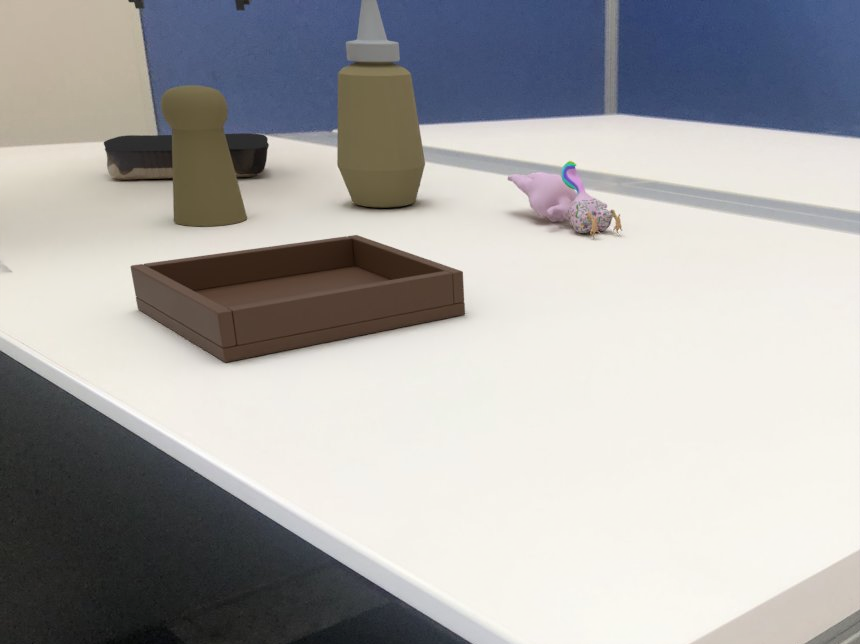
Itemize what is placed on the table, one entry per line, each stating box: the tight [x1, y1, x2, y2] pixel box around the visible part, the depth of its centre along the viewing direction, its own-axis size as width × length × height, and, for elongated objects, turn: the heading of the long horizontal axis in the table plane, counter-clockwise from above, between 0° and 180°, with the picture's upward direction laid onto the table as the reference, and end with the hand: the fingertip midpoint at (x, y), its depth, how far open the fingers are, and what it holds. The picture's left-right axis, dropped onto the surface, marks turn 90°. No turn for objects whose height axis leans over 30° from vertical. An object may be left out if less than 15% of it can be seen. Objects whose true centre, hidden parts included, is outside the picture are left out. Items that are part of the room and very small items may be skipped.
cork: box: [160, 84, 248, 227], centre depth 91 cm, size 6×6×11 cm
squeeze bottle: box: [336, 0, 426, 209], centre depth 98 cm, size 8×8×18 cm
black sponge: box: [103, 132, 270, 181], centre depth 114 cm, size 16×8×4 cm, turn 105°
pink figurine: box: [507, 160, 624, 238], centre depth 94 cm, size 6×6×15 cm
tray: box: [130, 234, 466, 363], centre depth 67 cm, size 16×14×3 cm
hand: (189, 2), depth 95 cm, fingers open, 8 cm apart
